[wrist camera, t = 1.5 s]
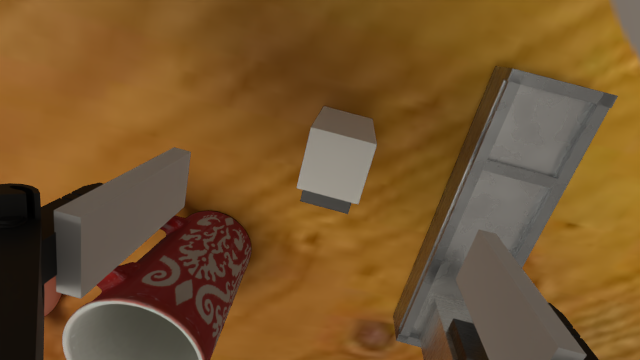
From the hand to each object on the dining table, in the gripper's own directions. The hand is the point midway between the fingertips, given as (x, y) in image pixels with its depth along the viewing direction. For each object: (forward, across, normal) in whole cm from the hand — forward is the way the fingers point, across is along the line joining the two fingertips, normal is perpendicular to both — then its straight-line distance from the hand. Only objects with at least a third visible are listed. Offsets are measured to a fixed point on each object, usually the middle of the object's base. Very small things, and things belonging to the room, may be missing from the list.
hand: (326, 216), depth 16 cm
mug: (+14, -10, -12) cm, 21 cm away
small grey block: (+14, 0, 0) cm, 14 cm away
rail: (+14, +13, -4) cm, 20 cm away
